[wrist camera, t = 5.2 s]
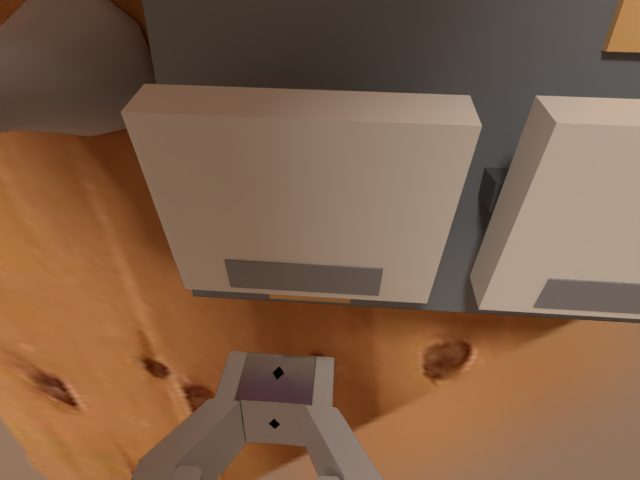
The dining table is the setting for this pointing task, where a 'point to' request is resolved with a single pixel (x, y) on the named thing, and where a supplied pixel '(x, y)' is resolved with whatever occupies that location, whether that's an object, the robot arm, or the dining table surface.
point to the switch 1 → (304, 186)
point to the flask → (70, 67)
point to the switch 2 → (567, 214)
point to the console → (412, 80)
